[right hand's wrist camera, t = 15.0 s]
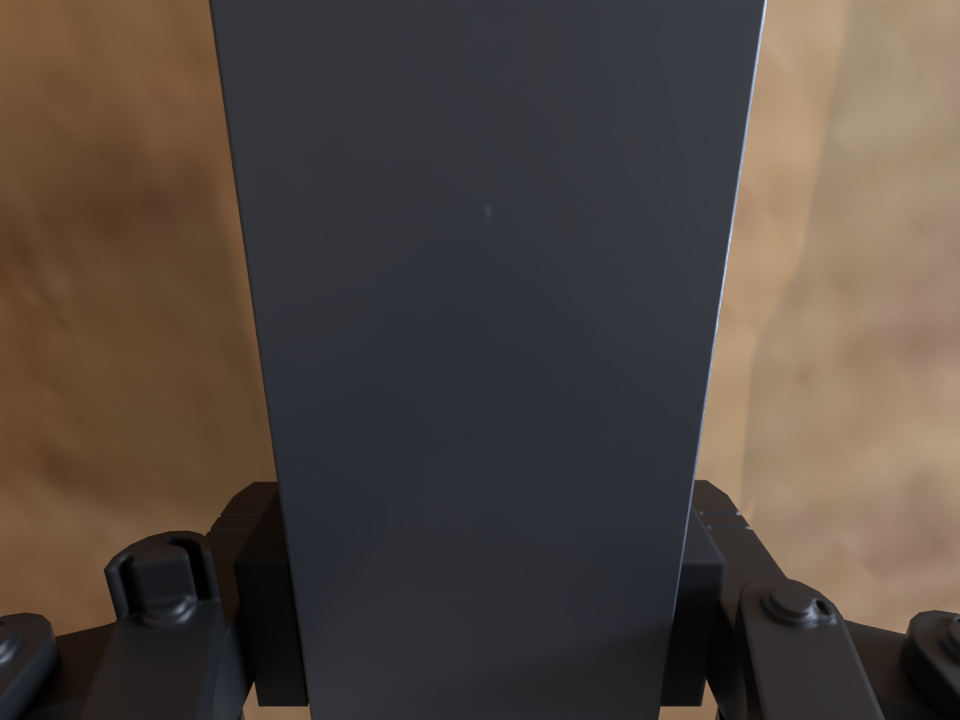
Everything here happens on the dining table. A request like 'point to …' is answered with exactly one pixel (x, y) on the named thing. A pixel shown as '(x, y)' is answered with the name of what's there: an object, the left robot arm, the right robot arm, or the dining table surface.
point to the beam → (486, 331)
